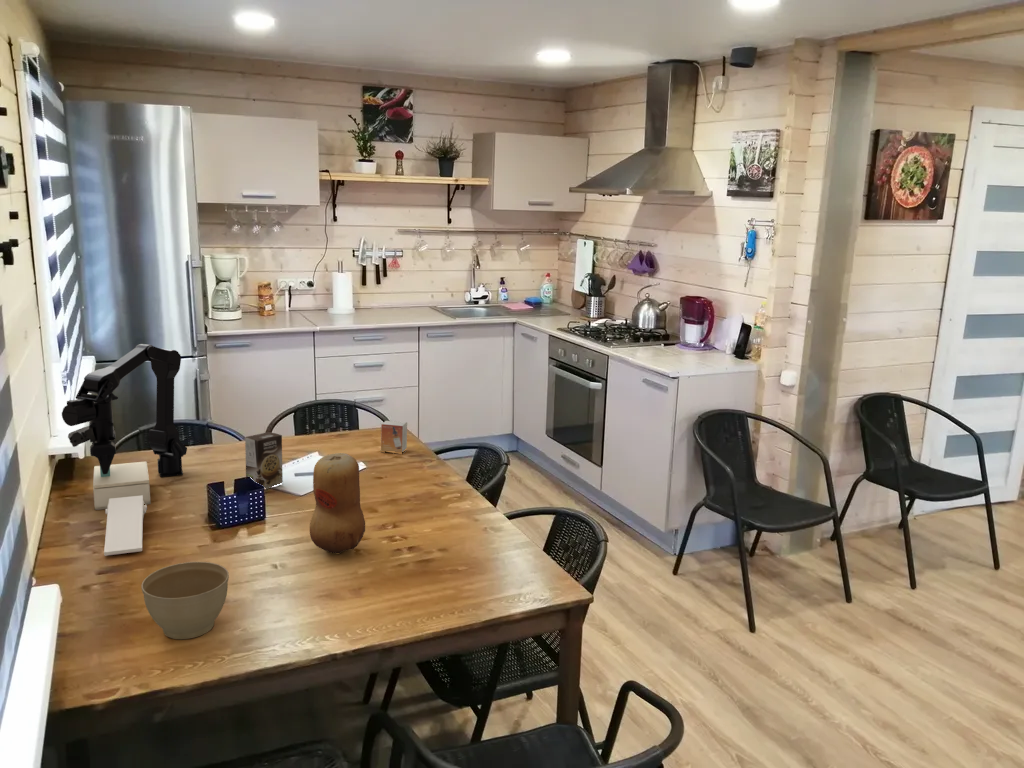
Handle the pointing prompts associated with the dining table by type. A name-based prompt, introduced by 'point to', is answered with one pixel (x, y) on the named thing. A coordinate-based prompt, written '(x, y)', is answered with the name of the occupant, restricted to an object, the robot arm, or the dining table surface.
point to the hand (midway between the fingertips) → (105, 470)
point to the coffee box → (264, 458)
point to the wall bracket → (124, 525)
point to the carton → (120, 494)
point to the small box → (393, 436)
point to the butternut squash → (337, 504)
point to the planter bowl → (186, 597)
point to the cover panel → (121, 475)
